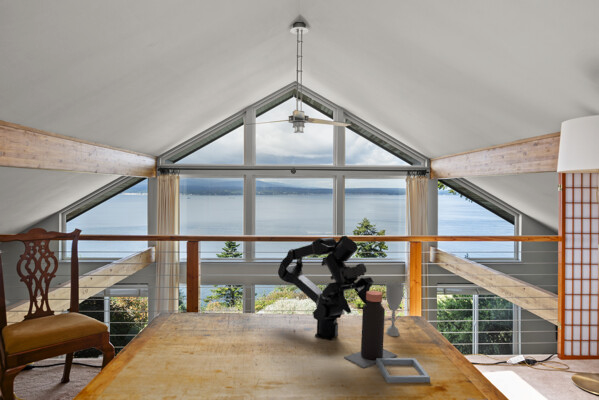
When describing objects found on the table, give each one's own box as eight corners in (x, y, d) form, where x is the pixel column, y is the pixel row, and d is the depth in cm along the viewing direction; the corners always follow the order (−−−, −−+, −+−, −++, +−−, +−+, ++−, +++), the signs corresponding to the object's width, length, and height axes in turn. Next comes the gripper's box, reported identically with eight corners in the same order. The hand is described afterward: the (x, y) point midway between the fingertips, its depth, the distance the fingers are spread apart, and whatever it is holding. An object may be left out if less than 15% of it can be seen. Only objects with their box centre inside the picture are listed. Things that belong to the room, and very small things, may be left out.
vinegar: (366, 349, 136) (369, 288, 135) (386, 355, 132) (389, 292, 131) (356, 356, 131) (359, 292, 129) (376, 362, 127) (379, 297, 125)
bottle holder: (387, 382, 116) (387, 377, 115) (375, 363, 127) (376, 358, 127) (429, 382, 116) (430, 377, 116) (414, 362, 128) (414, 358, 128)
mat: (344, 357, 130) (344, 356, 130) (377, 347, 139) (377, 345, 139) (363, 368, 124) (363, 367, 124) (397, 356, 133) (397, 355, 133)
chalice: (402, 338, 148) (405, 287, 147) (382, 336, 149) (385, 285, 148) (401, 330, 155) (404, 282, 154) (383, 328, 156) (385, 280, 155)
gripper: (329, 258, 132) (352, 302, 124) (370, 253, 144) (394, 292, 136) (312, 277, 139) (333, 320, 131) (353, 271, 150) (375, 310, 142)
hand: (360, 310), depth 135 cm, fingers open, 9 cm apart
